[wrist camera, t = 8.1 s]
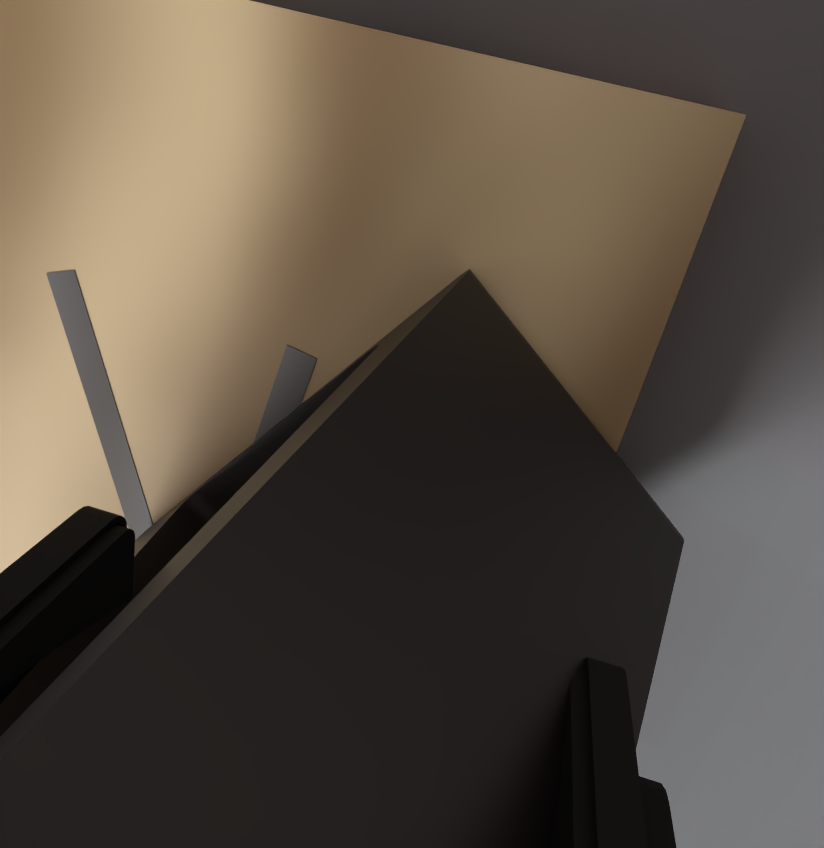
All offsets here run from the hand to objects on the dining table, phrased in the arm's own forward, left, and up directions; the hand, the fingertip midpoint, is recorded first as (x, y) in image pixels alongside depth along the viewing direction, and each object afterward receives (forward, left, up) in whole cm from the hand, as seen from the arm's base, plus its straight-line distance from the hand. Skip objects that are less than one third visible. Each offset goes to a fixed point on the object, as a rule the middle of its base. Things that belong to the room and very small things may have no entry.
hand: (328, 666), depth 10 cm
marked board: (+3, 0, -5) cm, 6 cm away
